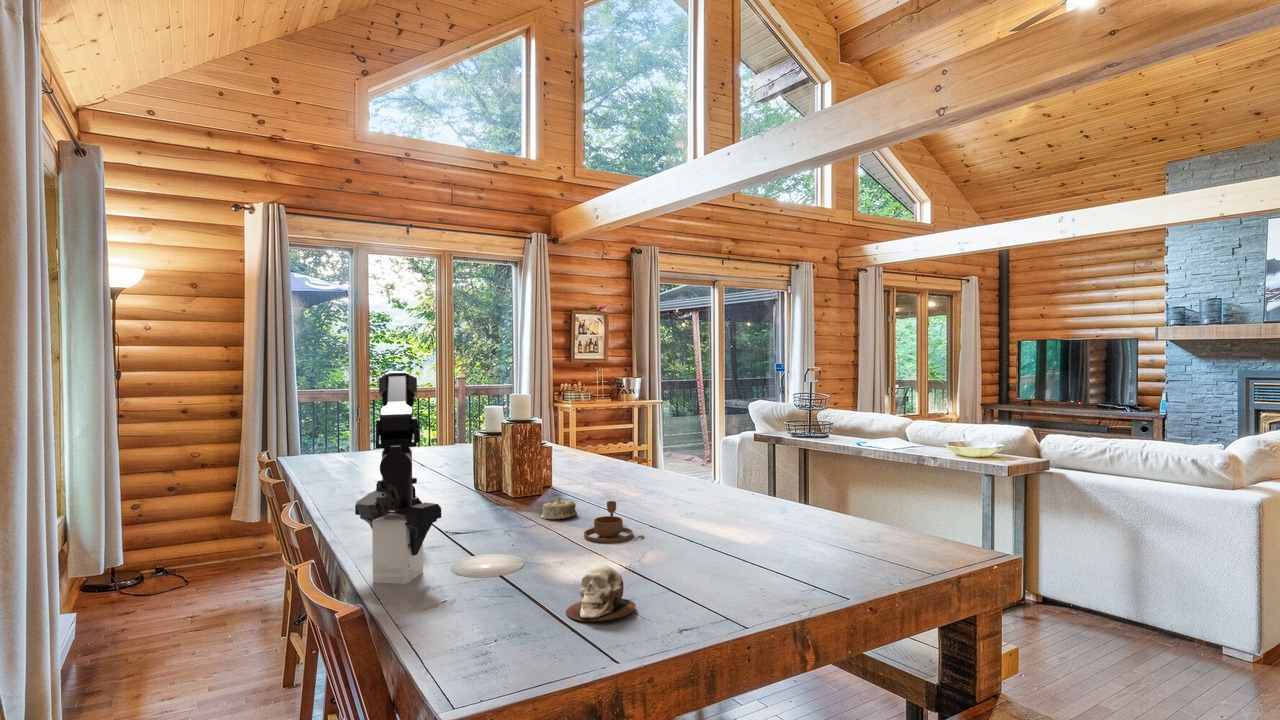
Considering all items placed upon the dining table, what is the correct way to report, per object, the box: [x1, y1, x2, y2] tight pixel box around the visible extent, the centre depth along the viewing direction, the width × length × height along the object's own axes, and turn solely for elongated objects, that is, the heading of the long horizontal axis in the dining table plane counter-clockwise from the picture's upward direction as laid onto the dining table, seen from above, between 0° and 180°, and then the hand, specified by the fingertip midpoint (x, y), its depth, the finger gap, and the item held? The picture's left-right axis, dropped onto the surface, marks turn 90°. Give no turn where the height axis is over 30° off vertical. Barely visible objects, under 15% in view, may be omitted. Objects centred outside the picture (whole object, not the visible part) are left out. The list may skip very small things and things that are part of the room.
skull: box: [565, 564, 636, 623], centre depth 121 cm, size 12×10×10 cm
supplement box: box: [371, 513, 424, 585], centre depth 141 cm, size 7×7×13 cm
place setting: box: [583, 500, 645, 544], centre depth 174 cm, size 18×20×6 cm
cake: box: [540, 496, 578, 520], centre depth 192 cm, size 10×10×5 cm
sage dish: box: [450, 553, 525, 578], centre depth 148 cm, size 15×15×1 cm
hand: (398, 552), depth 141 cm, fingers open, 9 cm apart
